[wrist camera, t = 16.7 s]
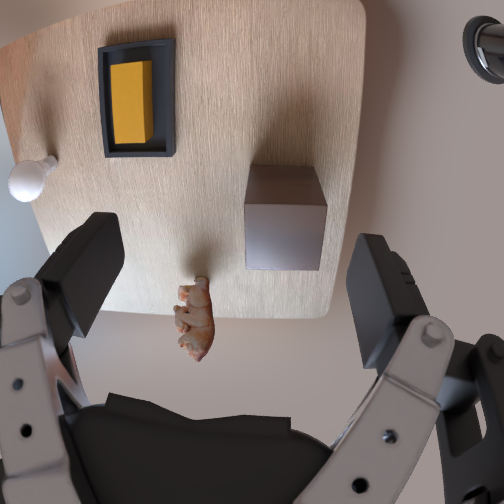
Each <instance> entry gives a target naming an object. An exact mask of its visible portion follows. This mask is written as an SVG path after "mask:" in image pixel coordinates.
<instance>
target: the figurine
mask: <svg viewBox="0 0 504 504" xmlns="http://www.w3.org/2000/svg"><path fill="white" fill-rule="evenodd" d="M194 282H195V285H191V286H179V289H178V293H179V299H180V300H181V301H184V302H186V307H185V306H182V307H180V306H178V305H176V306H174V308H173V309H174V312H175V326H176V329H177V330H178V331H179V332H181V333H185V334H184V335H183V336H182V337H180V338H179V341H178V345H179V346H180V347H184V349H185V350H186V351H187V354H188V355H190V356H191V357H193V358H194V359H195V360H196V362H199V361H201V359H202V358H203V357H204V356H205V355H206V354H207V353H208V351H209V349H210V347H211V345H212V342H213V339H214V334H215V325H214V320H213V312H212V302H211V298H210V294H209V281H208V279H207V278H205V277H199V278H197V279H196V280H194Z"/></svg>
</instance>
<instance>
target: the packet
mask: <svg viewBox="0 0 504 504" xmlns="http://www.w3.org/2000/svg"><path fill="white" fill-rule="evenodd" d="M111 91H112V109H113V123H114V135H115V143H116V144H117V143H145V142H146V141H148V140H149V139H150V138H151V137H153V136H154V131H153V104H152V60H149V61H139V62H130V63H122V64H116V65H111Z"/></svg>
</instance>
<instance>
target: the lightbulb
mask: <svg viewBox="0 0 504 504" xmlns="http://www.w3.org/2000/svg"><path fill="white" fill-rule="evenodd" d="M57 165H58V163H57V160H56V158H55V157H54V156H52V155H50V156H48V157H46V158H45V159H43V160H40V161H33V160H24V161H21V162H19V163H18V164H17V165H16V166H15V167H14V168H13V169H12V171H11V173H10V175H9V181H8V186H9V190H10V192H11V194H12V196H13V197H14V198H16V199H17V200H19V201H22V202H29V201H32V200H34V199H36V198H37V197H38V196H39V195H40V194H41V192H42V191H43V189H44V186H45V182H46V178H47V177H48V175H49V173H51V172H52V171H53V170H55V169H56V168H57Z"/></svg>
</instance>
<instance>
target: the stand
mask: <svg viewBox="0 0 504 504" xmlns="http://www.w3.org/2000/svg"><path fill="white" fill-rule="evenodd" d="M327 207H328V206H327V203H326V200H325V197H324V194H323V191H322V188H321V185H320V183H319V180H318V177H317V174H316V171H315V169H314V167H304V166H271V165H250V170H249V176H248V182H247V189H246V195H245V201H244V221H245V257H246V269H262V270H316V271H318V270H319V266H320V259H321V252H322V245H323V238H324V230H325V223H326V215H327Z"/></svg>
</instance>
